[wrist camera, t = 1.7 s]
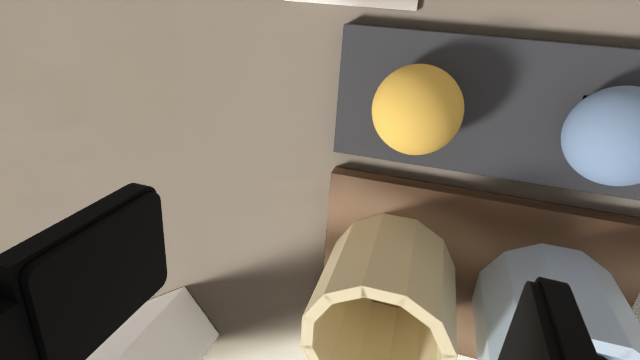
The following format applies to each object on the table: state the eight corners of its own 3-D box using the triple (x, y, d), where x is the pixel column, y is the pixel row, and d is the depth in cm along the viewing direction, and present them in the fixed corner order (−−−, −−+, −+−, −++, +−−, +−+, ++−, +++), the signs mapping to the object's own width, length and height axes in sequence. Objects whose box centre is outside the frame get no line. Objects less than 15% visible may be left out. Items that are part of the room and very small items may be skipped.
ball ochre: (384, 53, 25) (370, 66, 20) (471, 62, 23) (476, 77, 19) (374, 133, 27) (359, 160, 22) (453, 145, 26) (454, 175, 21)
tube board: (288, -117, 23) (281, -123, 22) (819, -113, 17) (843, -120, 16) (278, 297, 35) (273, 306, 34) (586, 374, 30) (591, 388, 29)
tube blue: (490, 233, 26) (505, 319, 19) (637, 261, 25) (714, 367, 17) (462, 331, 30) (467, 433, 23) (590, 362, 28) (637, 483, 21)
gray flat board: (347, 23, 25) (343, 24, 24) (738, 57, 20) (751, 59, 20) (336, 146, 28) (333, 151, 27) (670, 199, 24) (679, 206, 23)
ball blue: (566, 72, 22) (596, 90, 18) (672, 83, 21) (731, 105, 17) (540, 157, 24) (560, 192, 20) (635, 171, 23) (679, 212, 19)
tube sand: (339, 205, 29) (304, 272, 22) (464, 228, 27) (470, 310, 20) (330, 298, 32) (298, 383, 25) (440, 325, 30) (438, 424, 23)
